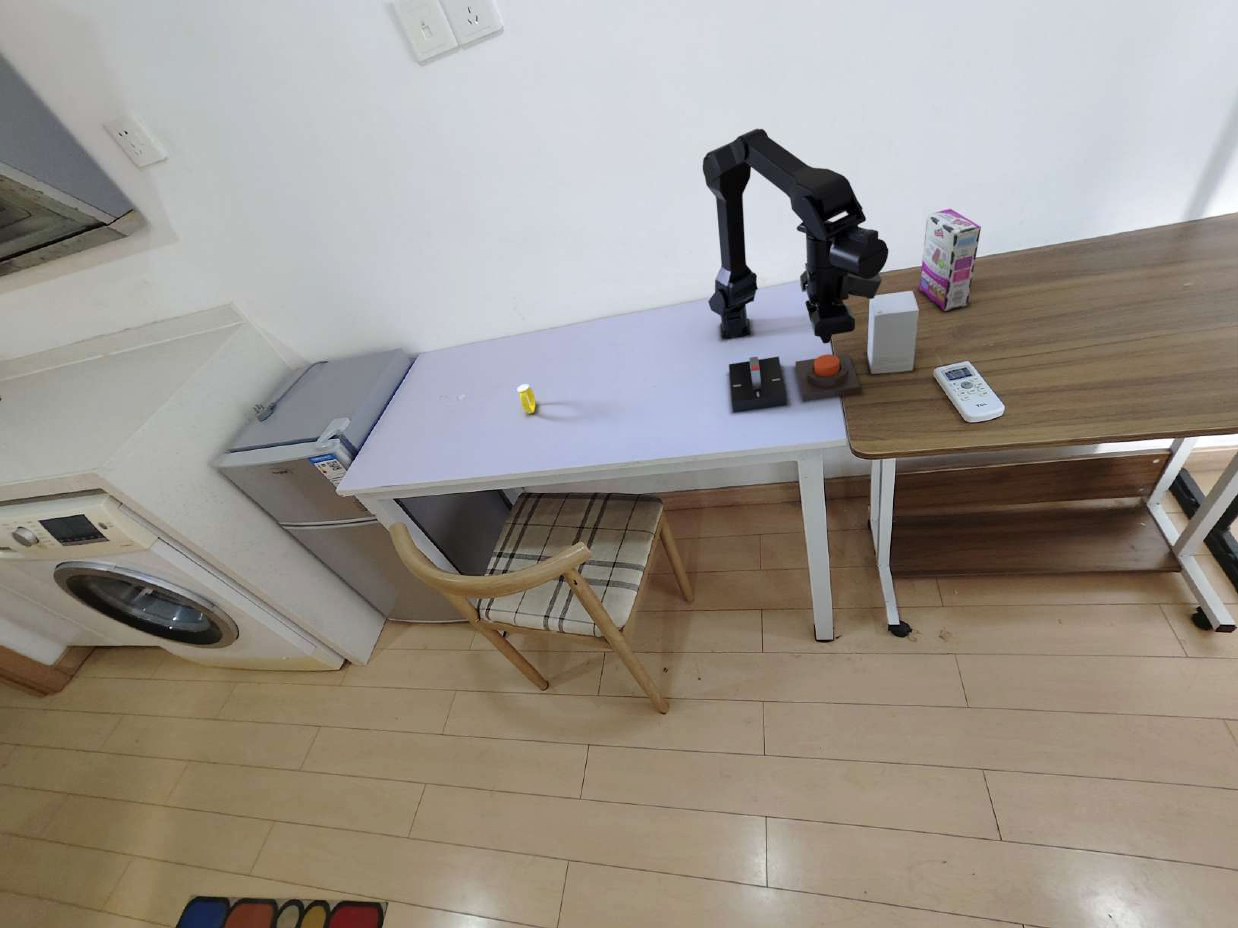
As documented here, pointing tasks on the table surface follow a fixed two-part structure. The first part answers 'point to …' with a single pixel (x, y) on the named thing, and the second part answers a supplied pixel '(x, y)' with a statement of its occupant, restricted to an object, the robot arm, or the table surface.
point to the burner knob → (755, 373)
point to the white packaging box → (892, 332)
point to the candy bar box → (949, 258)
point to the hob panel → (770, 384)
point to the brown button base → (827, 380)
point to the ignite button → (826, 365)
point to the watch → (523, 392)
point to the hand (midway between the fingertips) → (826, 342)
